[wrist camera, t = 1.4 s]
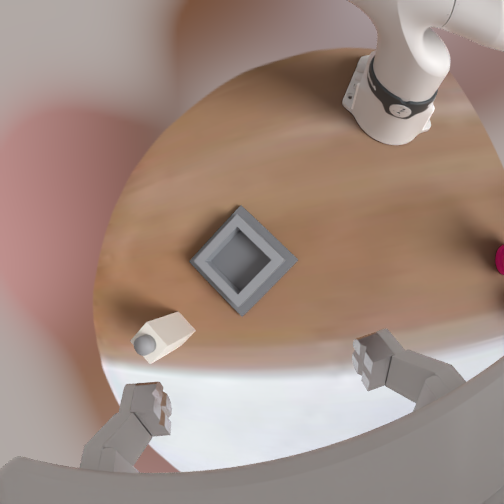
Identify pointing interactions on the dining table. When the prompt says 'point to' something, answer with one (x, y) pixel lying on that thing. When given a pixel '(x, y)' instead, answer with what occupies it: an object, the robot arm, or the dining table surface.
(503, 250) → the pepper mill
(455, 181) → the dining table surface
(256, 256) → the socket dock
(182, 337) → the spigot peg
